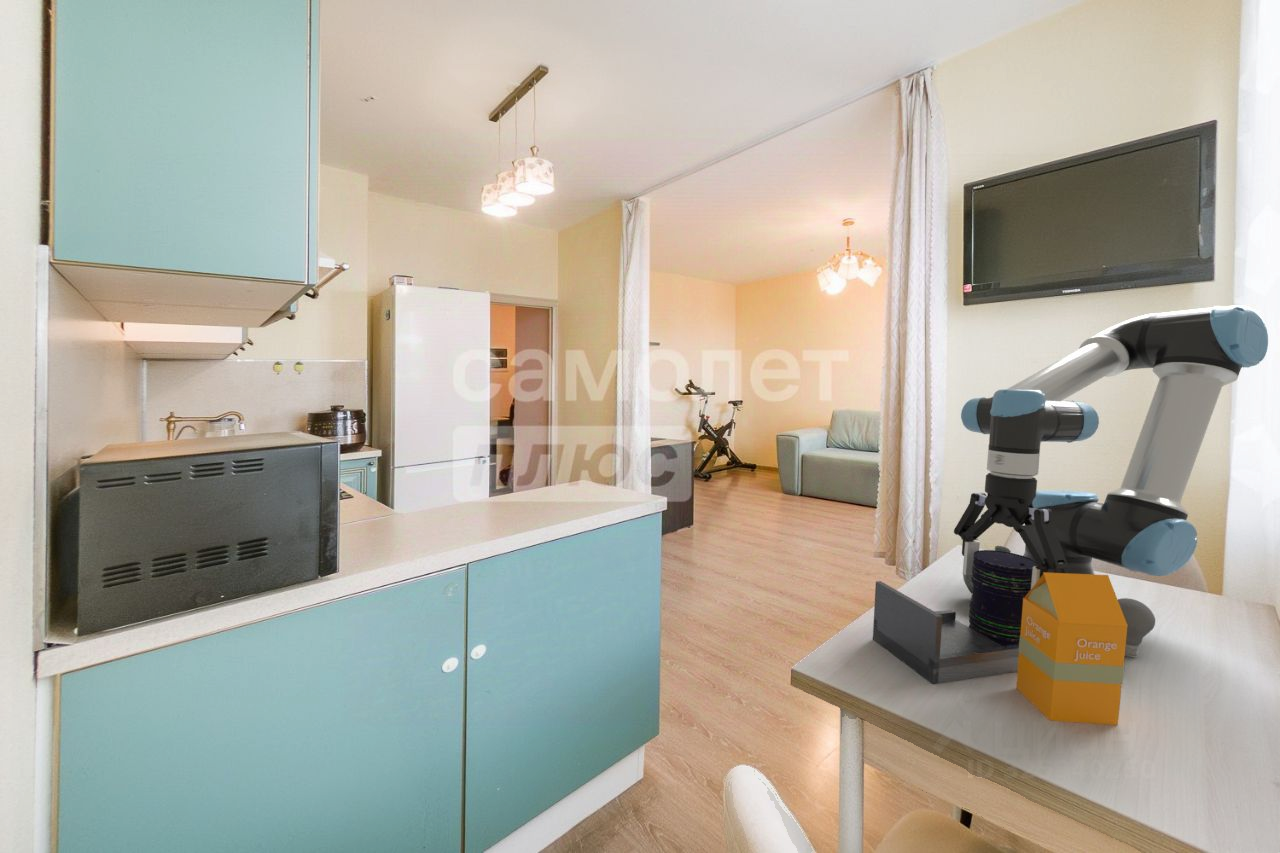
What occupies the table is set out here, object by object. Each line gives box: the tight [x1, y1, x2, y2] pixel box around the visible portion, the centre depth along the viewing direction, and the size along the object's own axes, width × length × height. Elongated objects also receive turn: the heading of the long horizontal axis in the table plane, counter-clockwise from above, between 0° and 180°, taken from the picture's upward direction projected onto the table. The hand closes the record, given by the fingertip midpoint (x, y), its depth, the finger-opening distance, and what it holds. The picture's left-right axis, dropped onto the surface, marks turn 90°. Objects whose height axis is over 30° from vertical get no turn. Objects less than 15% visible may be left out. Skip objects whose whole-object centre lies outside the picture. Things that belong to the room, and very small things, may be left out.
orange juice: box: [1015, 572, 1128, 726], centre depth 73 cm, size 8×9×20 cm
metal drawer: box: [872, 580, 1019, 685], centre depth 87 cm, size 17×14×11 cm
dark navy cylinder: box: [968, 549, 1038, 646], centre depth 93 cm, size 10×10×15 cm
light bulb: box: [1117, 597, 1156, 658], centre depth 87 cm, size 6×6×10 cm
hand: (1001, 588), depth 93 cm, fingers open, 13 cm apart
